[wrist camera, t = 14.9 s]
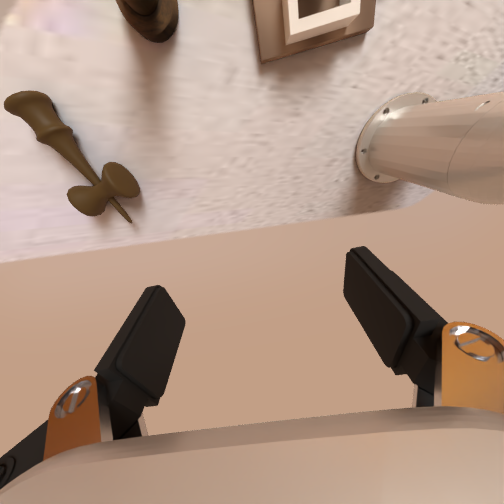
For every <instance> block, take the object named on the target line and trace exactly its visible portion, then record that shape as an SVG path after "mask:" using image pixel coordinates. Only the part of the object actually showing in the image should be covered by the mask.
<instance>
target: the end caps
mask: <svg viewBox="0 0 504 504" xmlns="http://www.w3.org/2000/svg"><path fill="white" fill-rule="evenodd" d="M360 1H361V0H340V2H339V6H338V7H335V8H332V9H329V10H326V11H323V12H319V13H316V14H313V15H310V16H307V17H304V18H301V19H299V17H298V0H282V7H283V19H284V31H285V43H286V45H289V44H292V43H295V42H299V41H302V40H305V39H308V38H312V37H315V36H318V35H321V34H325V33H328V32H331V31H334V30H338V29H341V28H344V27H347V26H348V25H349V24H350V23H351V22H352V21H353V20H354V19H355V18H356V17H357V16H358V15H359V14H360Z"/></svg>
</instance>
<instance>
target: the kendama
mask: <svg viewBox="0 0 504 504" xmlns="http://www.w3.org/2000/svg"><path fill="white" fill-rule="evenodd" d="M4 108H5V110H6V111H8V112H10V113H11V114H13V115H16V116H19V117H21V118H22V119H23V120H24V121H25V122H26V123H28V124H29V126H30V127H31V128H32V129H33V130H34V131H35V133H36V139H37V141H39V142H41V143H43V144H47V145H49V146H51V147H52V148H54V149H55V150H56V151H57V152H59V153H60V154H61V155H62V156H63V157H64V158H66V159H67V160H68V161H69V162H70V163H71V164H72V165H73V166H74V167H75V168H77V169H78V170H79V171H80V172H81V173H82V174H83V175H84V176H85V177H86V178H87V179H88V180H89V181H90V182H91V183H92V184H93V185H94V186H74V187H72V188H70V189H69V190H68V193H67V197H68V199H69V201H70V203H71V204H72V205H73V206H74V207H75V208H76V209H77V210H78V211H80V212H81V213H83V214H85V215H87V216H97V215H101V214H102V213H103V212H104V211H105V207H106V203H107V201H109V202H110V203H111V204H112V205H113V206H114V207H115V208H116V209H117V210H118V212H119V213H120V214H121V215H122V216H123V217H124V218H125V219H126V220H127V221H128V222H130V223H132V220H131V218H130V217H129V216H128V214H127V213H126V212H125V211H124V209H123V208H122V207H121V206H120V204H119V203H118V202H117V201H116V199H115V198H114V196H120V197H125V198H134V197H136V196H137V195H138V194H139V192H140V188H139V185H138V183H137V181H136V179H135V178H134V176H133V175H132V174H131V173H130V172H129V171H128V170H127V169H126V168H125V167H123V166H122V165H120V164H118V163H116V162H109V163H107V164H105V165H104V167H103V170H102V179H101V180H100V179H99V178H98V176H97V175H96V173H95V172H94V171H93V169H92V168H91V166H90V165H89V164H88V162H87V161H86V159H85V158H84V156H83V154H82V153H81V151H80V150H79V148H78V146H77V145H76V143H75V141H74V139H73V136H72V133H73V130H72V129H71V128H70V127H69V126H66V125H65V124H63V123H62V122H61V120H60V119H59V118H58V116H57V115H56V113H55V112H54V110H53V107H52V100H51V99H50V98H49V97H48V96H47V95H46V94H44V93H41V92H38V91H21V92H18V93H15V94H12V95H11V96H9V97H7V98H6V100H5V101H4Z"/></svg>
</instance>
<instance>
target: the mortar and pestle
mask: <svg viewBox="0 0 504 504" xmlns="http://www.w3.org/2000/svg"><path fill="white" fill-rule="evenodd" d="M116 2H117V4H118V6H119V8H120V10H121V12H122V14H123V15H124V17H125V18H126V20H127V21H128V22H129V23H130V25H131V26H132V27H133V28H134V29H136V30H137V31H138V32H139V33H140V34H141V35H142V36H143V37H145V38H146V39H148V40H150V41H152V42H157V43H160V42H164V41H166V40H168V39H169V38H170V37H171V36H172V34H173V33H174V31H175V28H176V26H177V21H178V3H177V0H116Z"/></svg>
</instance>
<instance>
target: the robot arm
mask: <svg viewBox="0 0 504 504" xmlns="http://www.w3.org/2000/svg"><path fill="white" fill-rule="evenodd" d="M383 111H384V113H383ZM361 151H362V152H361ZM356 161H357V165H358V168H359V170H360V172H361V173H362V174H363V175H364V176H365V177H366V178H368V179H369V180H371V181H374V182H378V183H389V182H393V181H396V180H399V179H401V180H404V181H408V182H411V183H414V184H417V185H421V186H424V187H427V188H430V189H433V190H437V191H440V192H443V193H446V194H449V195H453V196H456V197H459V198H463V199H466V200H469V201H473V202H478V203H483V204H504V92H497V93H491V94H484V95H478V96H471V97H465V98H458V99H452V100H445V101H439V102H437V101H436V100H435V99H434V98H433V97H432V96H430V95H428V94H426V93H420V92H414V93H407V94H404V95H400V96H398V97H396V98H394V99H391V100H390V101H388V102H387V103H386V104H384V105H383V106H382V107H380V108H379V109H378V110H377V111H376V112H375V113H374V114H373V116H372V117H371V118H370V119H369V121H368V122H367V124H366V125H365V127H364V129H363V131H362V133H361V135H360V137H359V141H358V144H357V150H356ZM343 293H344V297H345V299H346V301H347V302H348V304H349V306H350V307H351V309H352V311H353V312H354V314H355V316H356V317H357V319H358V321H359V322H360V324H361V325H362V327H363V329H364V331H365V332H366V334H367V336H368V337H369V339H370V341H371V342H372V344H373V346H374V347H375V349H376V351H377V352H378V354H379V356H380V357H381V359H382V361H383V362H384V364H385V365H386V366H387V367H391V368H392V370H393V371H394V373H395V375H402V374H407V375H408V376H409V378H410V379H411V381H412V382H413V383H414V393H413V403H412V408H404V409H391V410H379V411H369V412H358V413H349V414H339V415H330V416H320V417H311V418H301V419H292V420H283V421H274V422H265V423H256V424H247V425H238V426H229V427H221V428H212V429H202V430H194V431H185V432H176V433H168V434H159V435H151V436H148V432H147V429H146V424H145V421H144V417H143V413H142V412H143V409H144V406H146V407H148V406H157V405H158V403H159V399H160V397H162V395H163V394H164V391H165V388H166V385H167V382H168V379H169V375H170V372H171V369H172V366H173V363H174V359H175V356H176V353H177V350H178V347H179V343H180V340H181V337H182V333H183V330H184V327H185V318H184V317H183V315H182V314H181V313H180V311H179V309H178V308H177V306H176V305H175V303H174V302H173V300H172V299H171V297H170V296H169V294H168V293H167V291H166V290H165V288H164V287H161V286H160V285H156V286H151V287H147V288H146V289H145V291H144V292H143V294H142V295H141V297H140V298H139V300H138V302H137V303H136V305H135V306H134V308H133V310H132V311H131V313H130V314H129V316H128V318H127V319H126V321H125V322H124V324H123V325H122V327H121V328H120V330H119V332H118V333H117V335H116V336H115V338H114V340H113V341H112V343H111V344H110V346H109V348H108V349H107V351H106V352H105V354H104V355H103V357H102V359H101V360H100V362H99V363H98V365H97V367H96V368H95V370H94V371H96V372H97V373H98V374H97V376H96V377H93V376H85V377H83V378H80V379H79V380H77V381H75V382H74V383H73V384H71V385H70V386H69V387H68V388H67V389H66V390H65V391H64V392H63V393H62V394H61V395H60V396H59V397H58V399H57V400H56V401H55V403H54V405H53V406H52V408H51V411H50V414H49V419H48V420H47V421H46V422H45V423H43V424H42V425H41V426H39V427H38V428H37V429H36V430H34V431H33V432H32V433H31V434H29V435H28V436H27V437H26V438H25V439H23V440H22V441H21V442H19V443H18V444H17V445H16V446H14V447H13V448H12V449H11V450H9V451H8V452H7V453H6V454H4V455H3V456H2V457H1V458H0V504H504V340H503V339H502V338H500V337H499V336H498V335H496V334H495V333H493V332H491V331H489V330H487V329H485V328H483V327H480V326H477V325H475V324H471V323H466V322H452V323H447V322H446V321H445V320H444V319H443V318H442V317H441V316H440V315H439V314H438V313H437V312H435V310H434V309H432V308H431V307H430V306H429V305H428V304H427V303H426V302H425V301H424V300H423V299H422V298H421V297H420V296H419V295H418V294H417V293H416V292H414V291H413V290H412V289H411V288H410V287H409V286H408V285H407V284H406V283H405V282H404V281H403V280H402V279H401V278H400V277H399V276H398V275H396V274H395V273H394V272H393V271H391V270H389V269H388V268H387V267H386V266H385V265H384V264H383V263H382V262H381V261H380V260H379V259H378V258H377V257H376V256H375V255H374V254H372V252H371V251H370V250H369V249H368V248H366V247H365V246H361V247H356V248H352V249H351V250H350V252H347V254H346V265H345V277H344V289H343Z"/></svg>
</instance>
